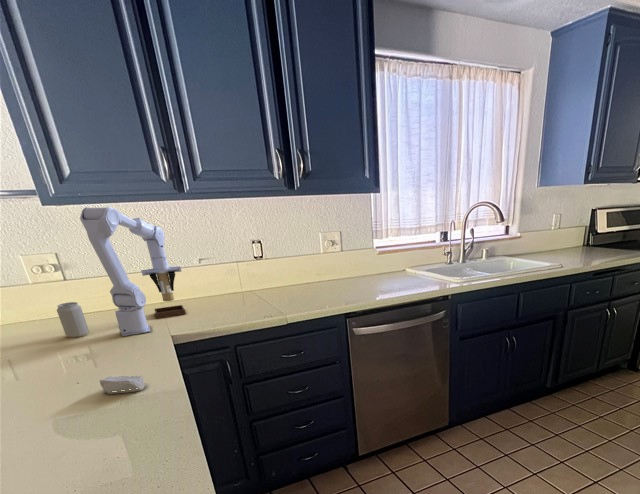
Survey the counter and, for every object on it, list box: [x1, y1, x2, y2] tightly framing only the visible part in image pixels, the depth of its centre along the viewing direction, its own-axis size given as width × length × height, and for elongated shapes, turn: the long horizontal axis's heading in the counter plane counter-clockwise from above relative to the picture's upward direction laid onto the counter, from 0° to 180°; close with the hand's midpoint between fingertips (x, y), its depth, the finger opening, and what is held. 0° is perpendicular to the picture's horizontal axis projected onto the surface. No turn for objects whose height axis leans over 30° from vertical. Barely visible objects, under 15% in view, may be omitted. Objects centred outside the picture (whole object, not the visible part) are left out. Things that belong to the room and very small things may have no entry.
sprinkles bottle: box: [156, 271, 175, 302], centre depth 176 cm, size 5×5×13 cm
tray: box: [154, 304, 186, 319], centre depth 184 cm, size 11×9×2 cm
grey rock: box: [99, 375, 146, 395], centre depth 115 cm, size 10×6×6 cm, turn 91°
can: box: [56, 301, 90, 339], centre depth 158 cm, size 8×8×12 cm
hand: (166, 291), depth 178 cm, fingers closed on sprinkles bottle, 4 cm apart
